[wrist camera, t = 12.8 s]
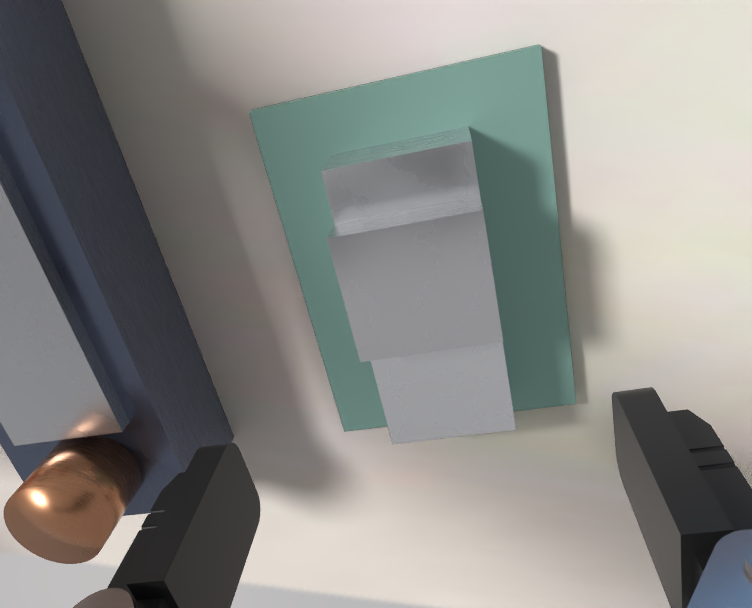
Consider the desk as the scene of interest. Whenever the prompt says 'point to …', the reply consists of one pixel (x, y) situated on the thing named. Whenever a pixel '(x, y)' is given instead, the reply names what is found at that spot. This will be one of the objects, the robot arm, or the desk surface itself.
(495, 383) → the lever cap
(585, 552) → the desk surface
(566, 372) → the green mat
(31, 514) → the body
